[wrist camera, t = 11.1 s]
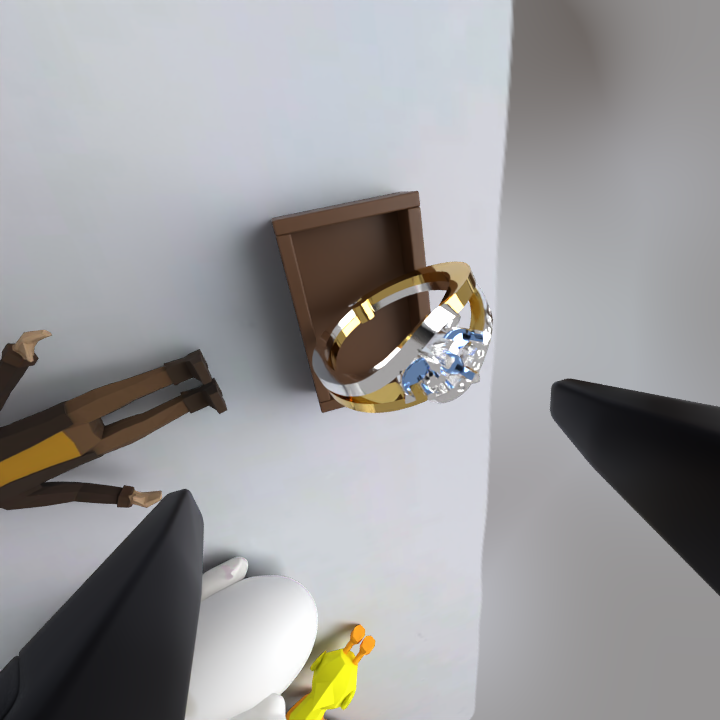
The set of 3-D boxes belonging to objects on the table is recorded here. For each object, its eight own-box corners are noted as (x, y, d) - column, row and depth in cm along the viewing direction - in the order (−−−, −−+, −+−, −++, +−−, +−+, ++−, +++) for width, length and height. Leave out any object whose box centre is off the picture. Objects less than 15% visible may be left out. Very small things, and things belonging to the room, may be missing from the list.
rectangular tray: (421, 364, 22) (437, 381, 19) (316, 392, 21) (321, 413, 19) (401, 191, 18) (419, 190, 16) (271, 218, 17) (271, 220, 15)
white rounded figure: (339, 726, 17) (-20, 957, 14) (357, 691, 23) (116, 843, 21) (272, 521, 22) (-3, 664, 19) (302, 540, 28) (102, 648, 26)
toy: (264, 489, 17) (-143, 709, 13) (239, 419, 24) (-40, 552, 19) (162, 296, 13) (-486, 525, 9) (165, 273, 19) (-213, 401, 15)
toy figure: (393, 635, 31) (309, 751, 31) (361, 601, 32) (281, 712, 33) (368, 681, 25) (263, 825, 25) (329, 637, 26) (231, 773, 26)
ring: (314, 373, 18) (387, 472, 11) (276, 321, 17) (336, 399, 10) (426, 294, 19) (557, 340, 12) (401, 237, 18) (535, 253, 11)
